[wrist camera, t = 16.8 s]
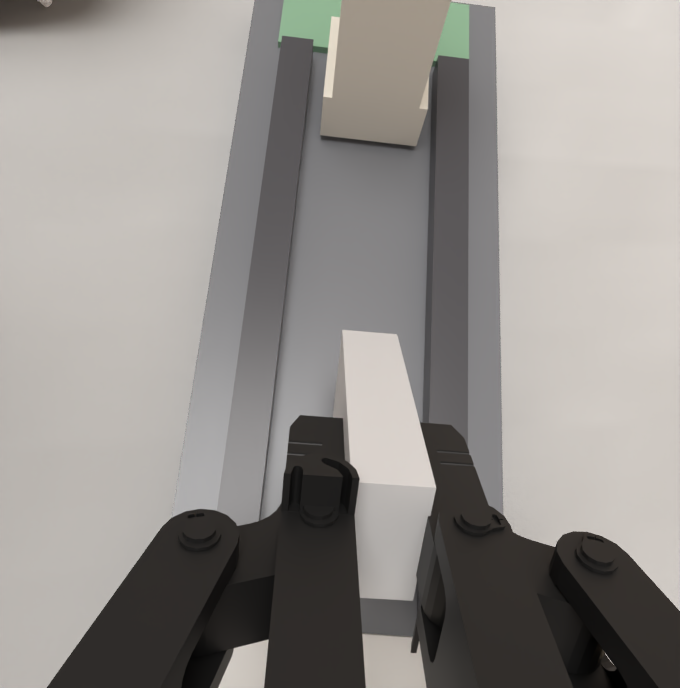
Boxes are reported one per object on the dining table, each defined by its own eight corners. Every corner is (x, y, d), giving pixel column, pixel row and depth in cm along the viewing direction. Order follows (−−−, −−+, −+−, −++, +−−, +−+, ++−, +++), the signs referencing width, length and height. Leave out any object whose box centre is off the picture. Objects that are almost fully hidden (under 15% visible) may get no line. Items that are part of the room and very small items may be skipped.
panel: (147, 746, 18) (121, 781, 15) (260, 16, 27) (257, -47, 25) (484, 767, 18) (520, 804, 16) (481, 44, 28) (503, -14, 25)
